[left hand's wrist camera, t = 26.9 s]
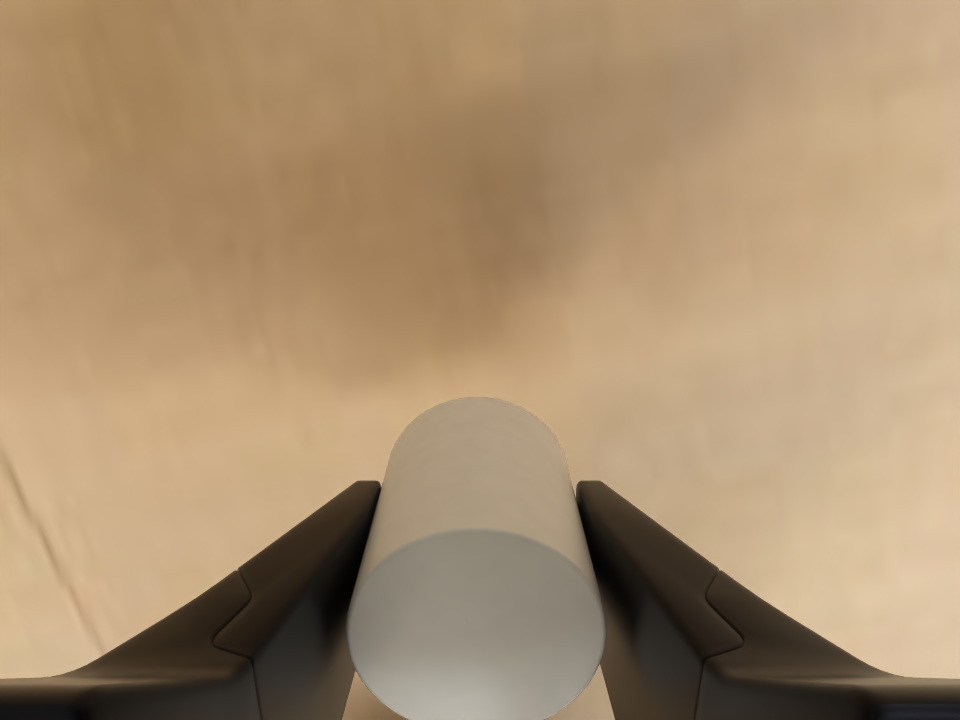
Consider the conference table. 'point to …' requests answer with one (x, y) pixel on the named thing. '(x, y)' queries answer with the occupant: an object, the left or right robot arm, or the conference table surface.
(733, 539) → the conference table surface
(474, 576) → the canister
